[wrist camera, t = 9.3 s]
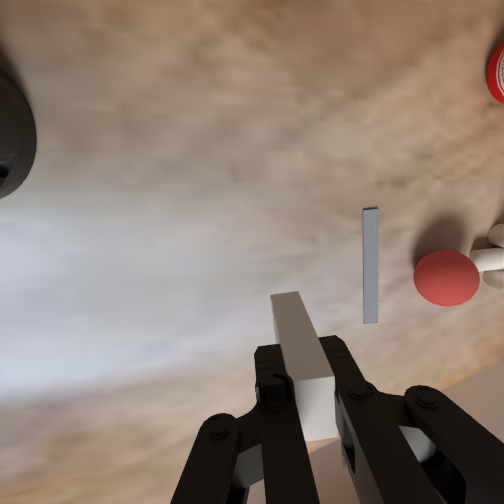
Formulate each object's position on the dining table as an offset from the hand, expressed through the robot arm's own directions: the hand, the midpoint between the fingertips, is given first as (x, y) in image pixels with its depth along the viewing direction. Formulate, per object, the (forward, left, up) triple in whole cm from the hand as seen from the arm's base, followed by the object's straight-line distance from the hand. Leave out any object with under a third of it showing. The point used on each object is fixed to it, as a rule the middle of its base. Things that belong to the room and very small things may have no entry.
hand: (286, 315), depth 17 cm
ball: (+6, +18, -16) cm, 25 cm away
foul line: (+5, +12, -19) cm, 23 cm away
